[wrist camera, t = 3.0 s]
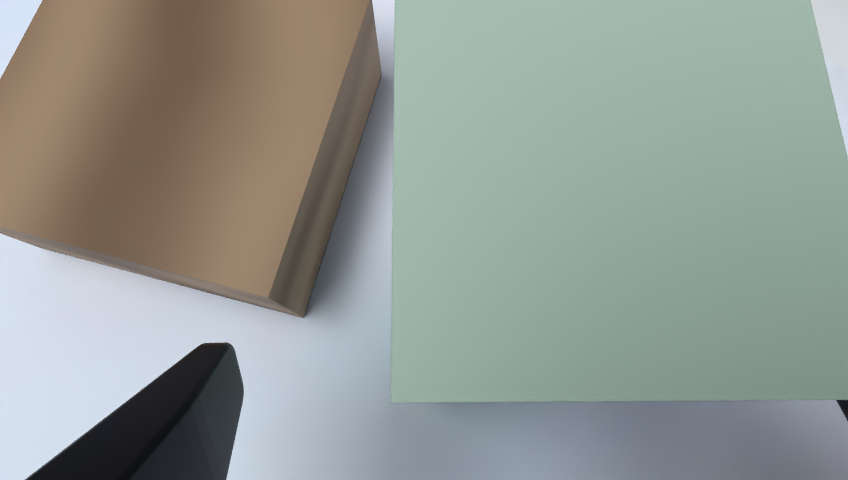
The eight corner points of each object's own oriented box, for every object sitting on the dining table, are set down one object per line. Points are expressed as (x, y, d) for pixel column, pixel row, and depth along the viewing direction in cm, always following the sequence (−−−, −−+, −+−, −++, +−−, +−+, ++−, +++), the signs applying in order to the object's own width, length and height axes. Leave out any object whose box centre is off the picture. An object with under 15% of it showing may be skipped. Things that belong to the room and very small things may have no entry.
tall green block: (549, 247, 17) (803, -27, 6) (560, 389, 16) (903, 398, 5) (412, 247, 17) (395, -27, 6) (412, 390, 16) (390, 402, 5)
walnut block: (381, 74, 19) (371, -5, 15) (303, 317, 17) (267, 297, 13) (147, 19, 20) (80, -70, 16) (40, 247, 17) (-70, 208, 13)
